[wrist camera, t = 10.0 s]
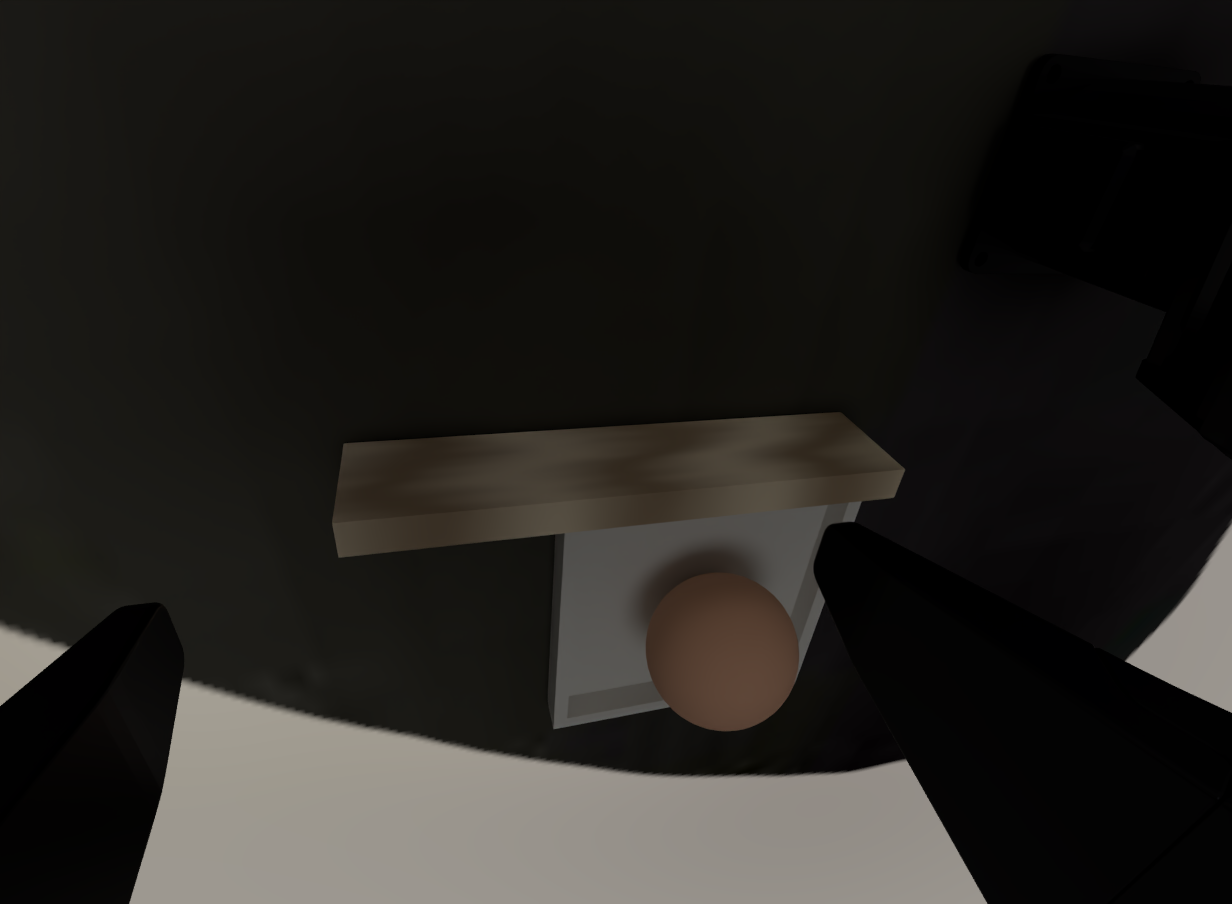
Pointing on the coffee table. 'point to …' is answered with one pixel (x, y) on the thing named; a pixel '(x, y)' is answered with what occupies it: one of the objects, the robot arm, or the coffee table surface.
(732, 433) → the rail
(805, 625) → the coaster tray
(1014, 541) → the coffee table surface
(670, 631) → the ball
